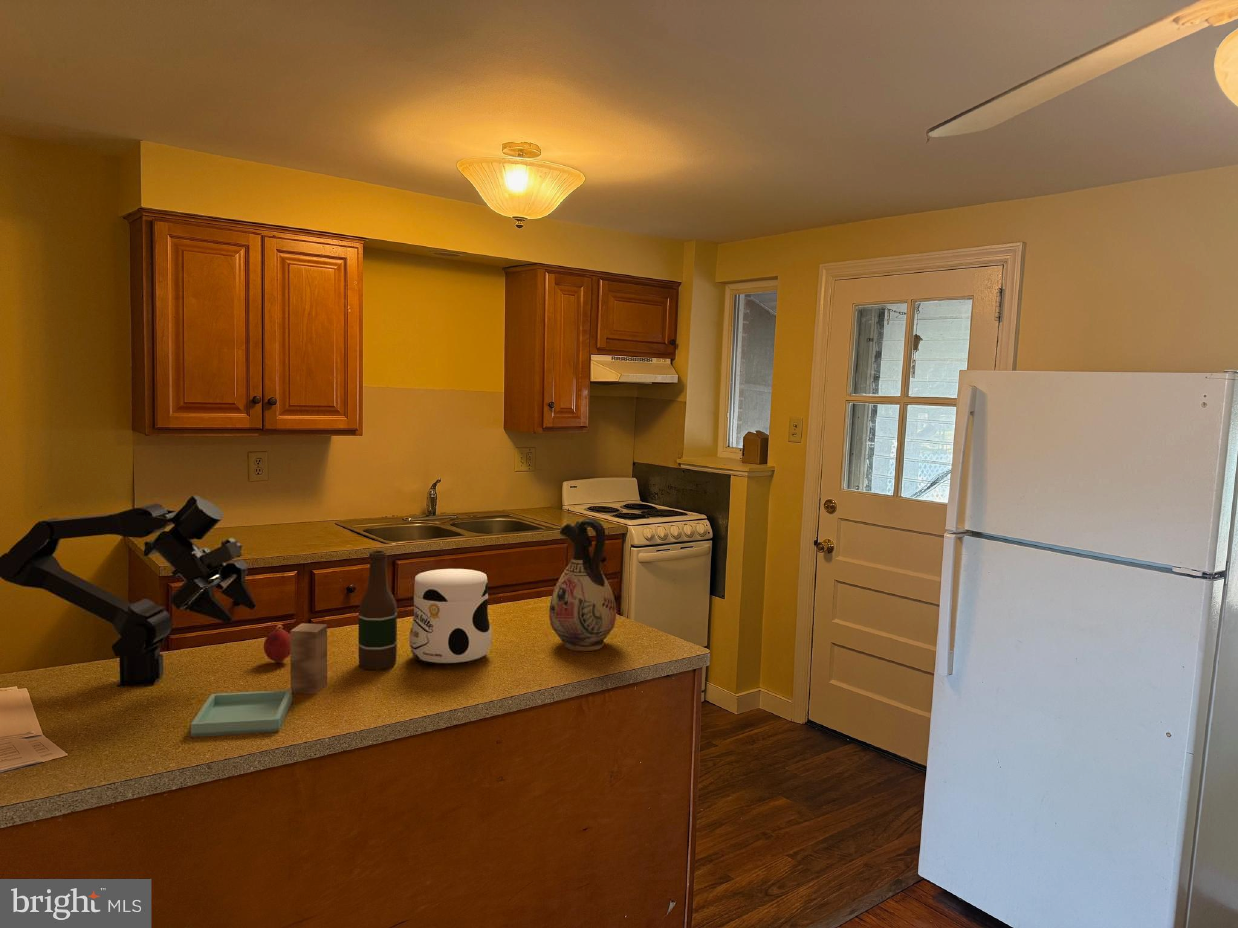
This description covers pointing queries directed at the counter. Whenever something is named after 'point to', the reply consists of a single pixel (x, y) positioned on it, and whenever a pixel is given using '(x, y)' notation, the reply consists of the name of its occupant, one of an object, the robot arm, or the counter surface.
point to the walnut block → (308, 658)
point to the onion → (277, 645)
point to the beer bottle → (377, 619)
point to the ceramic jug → (583, 593)
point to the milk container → (450, 617)
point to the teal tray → (242, 713)
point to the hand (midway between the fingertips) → (242, 614)
